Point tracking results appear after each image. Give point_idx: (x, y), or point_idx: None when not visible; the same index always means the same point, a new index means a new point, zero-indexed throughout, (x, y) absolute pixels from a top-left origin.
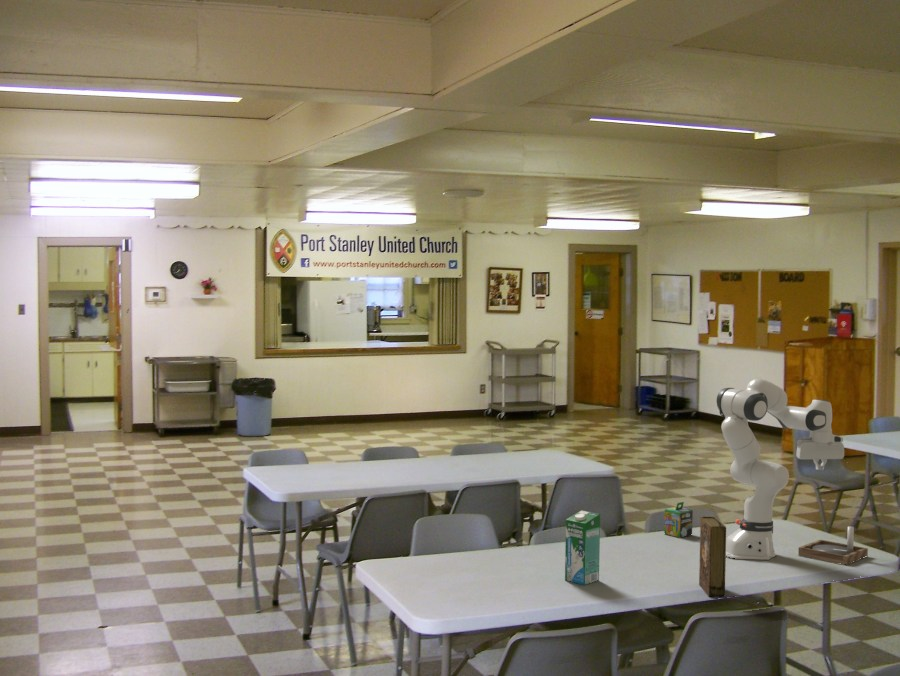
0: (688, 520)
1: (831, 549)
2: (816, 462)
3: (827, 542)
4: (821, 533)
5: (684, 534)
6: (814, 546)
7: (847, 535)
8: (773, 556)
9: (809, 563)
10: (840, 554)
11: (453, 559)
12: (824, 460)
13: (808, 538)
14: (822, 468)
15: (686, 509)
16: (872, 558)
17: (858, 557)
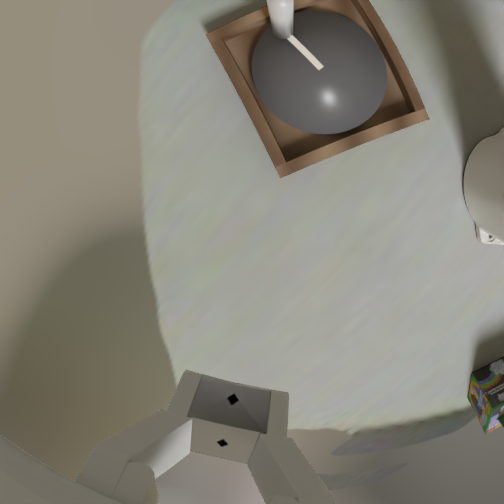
0: (497, 388)
1: (328, 68)
2: (316, 487)
3: (277, 144)
4: (162, 313)
5: (496, 364)
6: (358, 120)
7: (292, 15)
8: (487, 137)
9: (437, 47)
10: (341, 16)
11: None
12: (134, 483)
13: (234, 283)
14: (207, 384)
15: (498, 413)
16: (211, 26)
17: None
